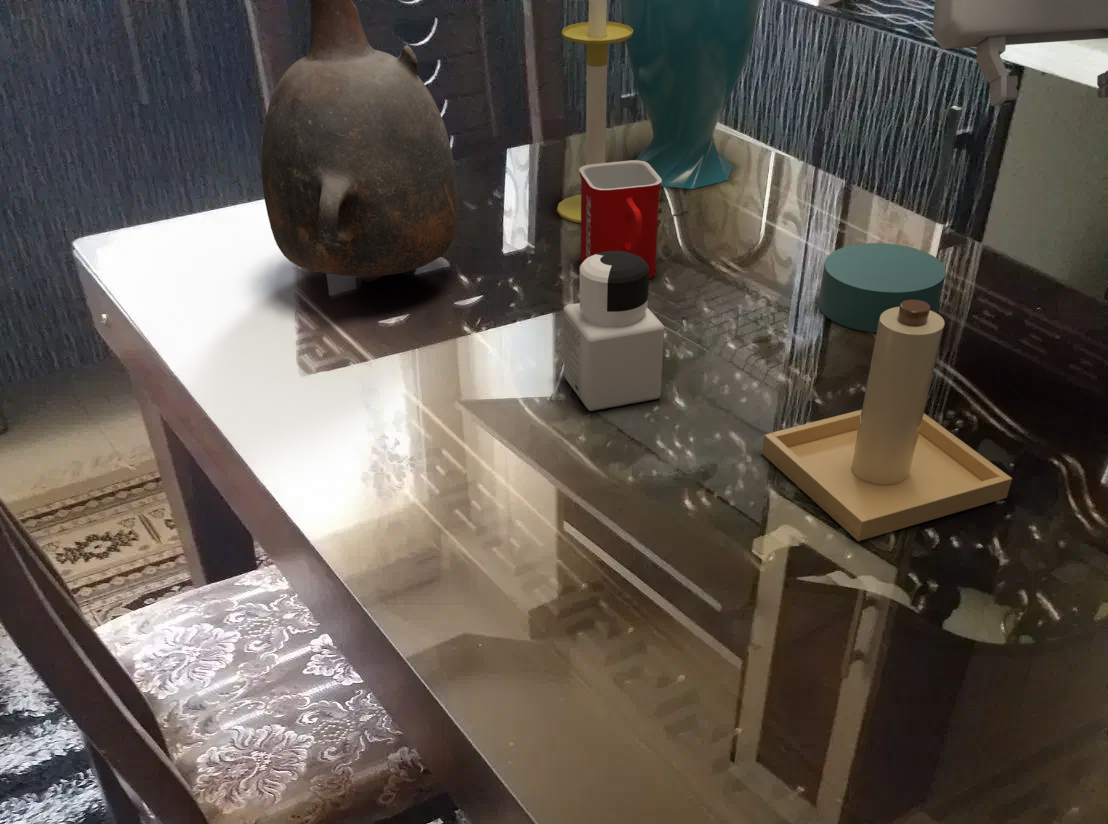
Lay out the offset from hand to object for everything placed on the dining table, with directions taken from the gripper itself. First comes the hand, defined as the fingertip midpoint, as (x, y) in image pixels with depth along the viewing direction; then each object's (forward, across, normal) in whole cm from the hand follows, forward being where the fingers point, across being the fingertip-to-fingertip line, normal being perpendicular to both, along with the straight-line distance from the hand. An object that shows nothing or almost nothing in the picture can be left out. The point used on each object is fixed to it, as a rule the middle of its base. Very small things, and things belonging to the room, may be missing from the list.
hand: (1057, 99), depth 94 cm
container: (+18, -35, +22) cm, 45 cm away
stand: (+12, -2, +33) cm, 35 cm away
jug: (+2, -57, +49) cm, 75 cm away
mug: (+5, -28, +45) cm, 53 cm away
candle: (-6, -27, +63) cm, 69 cm away
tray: (+29, -14, +4) cm, 32 cm away
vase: (-12, -12, +73) cm, 75 cm away
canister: (+28, -14, +4) cm, 32 cm away
